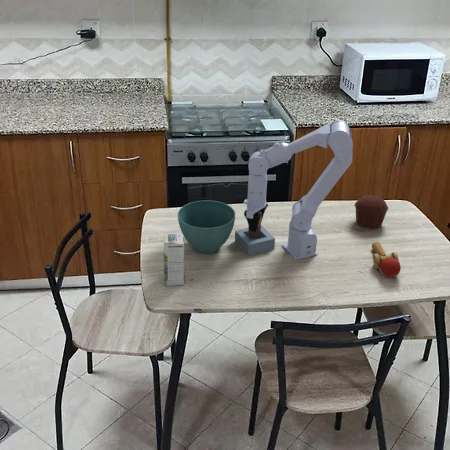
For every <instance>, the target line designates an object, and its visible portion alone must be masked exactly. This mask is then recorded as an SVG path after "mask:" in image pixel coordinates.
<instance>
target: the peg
mask: <svg viewBox="0 0 450 450" xmlns="http://www.w3.org/2000/svg"><path fill="white" fill-rule="evenodd" d="M257 213H259V214H262V212H261V211H260V210H259V211H258V212H257ZM261 217H262V216H261ZM261 226H262V222H261V218H260V220H259V223H258V228H257V231H256V232H252V231H250V230H249V226H248V227H247V228H248V235H249V236H250V237H259V236H260V235H261Z"/></svg>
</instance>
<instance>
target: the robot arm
mask: <svg viewBox="0 0 450 450" xmlns="http://www.w3.org/2000/svg"><path fill="white" fill-rule="evenodd" d="M352 136H353V134H352V132H351V129H350V126H349V124H348V123H347V122H346V121H344V120H341V119H339V120H334V121H332V122H331V123H326V124H324V125H322V126H321V127H318V128H317V129H315V130H313V131H312V132H310V133H308V134H305V135H303V136H302V137H300V138H297V139H296V140H293V141H291V142H289V143H286V142H284V141H281V142H278V141H277V142H275V143H274V144H273V146H271V147H268V148H266V149H263V148H262V149H260V150H258V151H255V152H253V153H252V154H251V156H250V157H249V160H248V161H249V162H248V174H249V175H248V180H247V181H248V182H247V183H248V184H247V198H245V199H244V201H243V204H245V205H246V209H245V210H244V212H243V216H244V217H245V219H246V221H247V225H248V227H249V230H250V231H252V232H256V231H257V228H258V223H259V220H260V218H261V223H262V222H263V218H264V214H265V212H266V211H267V208H268V206H269V205H268V203H267V199H266V198H267V189H268V188H267V187H268V186H267V184H268V176H267V174H268V173H267V171H268V170H269V169H272V168H274V167H276V166H279V165H282V164H283V163H286V162H288V161H291V158H292V157H293V155H294V154H296V153H300V152H303V151H305V150H307V149H310V148H313V147H316V146H319V147H322V148H324V149H328V146H329V148H330V149H331V150H332V152H333V155H334V157H333V158H332V159H331V161H330V163H329V164H328V165H327V167H326V168H325V169H324V170H323V172H322V174H320V176H319V177H318V179H317V180H316V182H315V183H314V184H313V186H312V187H311V188H310V190H309V191H308V192H307V194H306V195H303V196H302V197H301V198H300V200H298V201H295V202H294V204H293V205H292V208H291V209H292V210H291V211H292V215H291V219H290V221H289V224H288V227H289V228H288V239H287V242H286V243H283V244H281V247H283V248H284V249H285V250H286V251H287V252H288V253H289V254H290V255H291V256H292V257H294V259H296V260H302V259H305V258H309V257H313V256H317V255H318V254H319V253H318V252H317V244H318V243H317V242H318V237H317V235H316V234H315V233H314V230H313V219H314V218H315V216H316V213H317V212H318V209H319V207H320V206H321V204H322V202H324V200H325V199H326V198H327V196H328V195H329V193H330V192H331V191H332V189H333V188H334V187H335V185H336V184H337V183H338V181H339V180H340V178H342V176H343V174H344V173H345V172H346V171H347V170H348V168H349V167H350V166H351V164H352V163H353V152H354V151H353V149H354V148H353V145H354V143H353V137H352ZM259 210H260V211H261V212H262V214H259V213H257V212H258V211H259ZM261 216H262V217H261Z"/></svg>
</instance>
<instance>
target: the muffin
mask: <svg viewBox="0 0 450 450" xmlns="http://www.w3.org/2000/svg"><path fill="white" fill-rule="evenodd" d="M354 207H355V221H356V223H357V226H360V227H362V228H363V229H369V230H375V229H380V227H381V226H382V225H383V223H384V220H385V216H386V214H387V212H388V210H389V207H388V205H387V202H386V201H385V200H384V198H382V197H381V196H378V195H375V194H367V195H364V196H362V197H360V198H359V199H357V201H356V202H355V203H354Z"/></svg>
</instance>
